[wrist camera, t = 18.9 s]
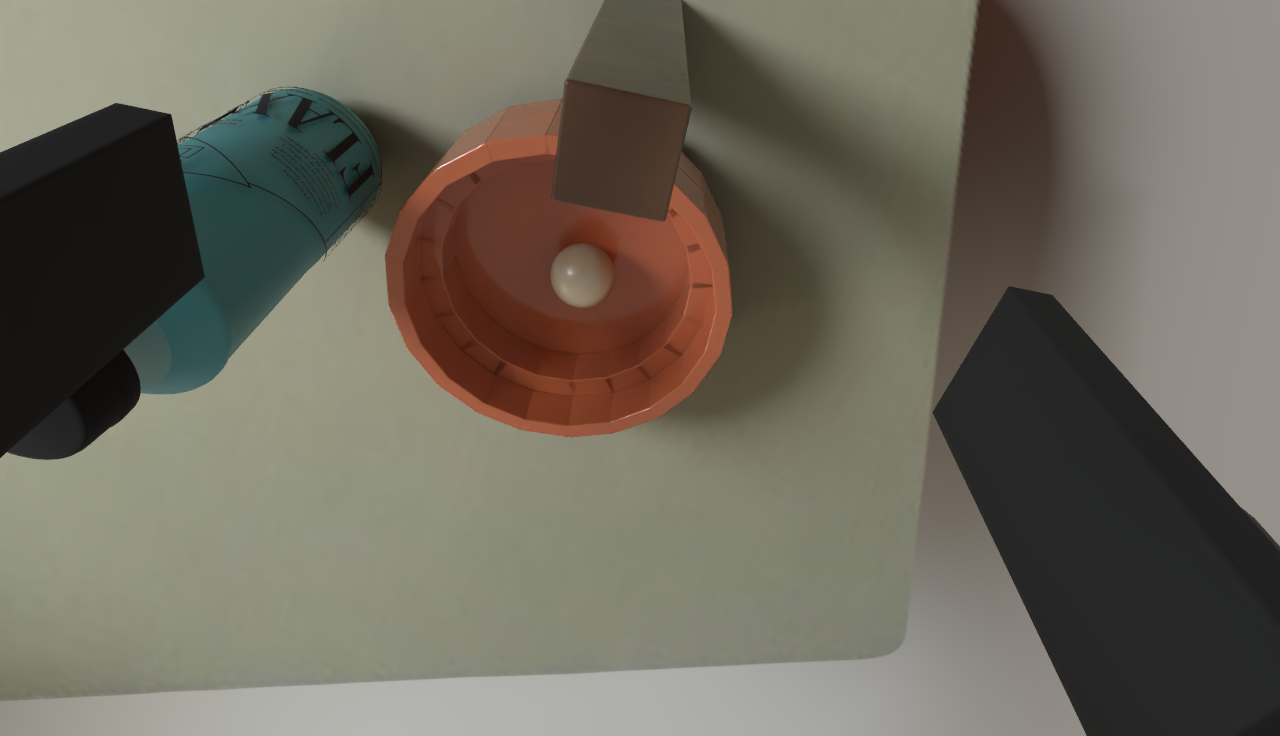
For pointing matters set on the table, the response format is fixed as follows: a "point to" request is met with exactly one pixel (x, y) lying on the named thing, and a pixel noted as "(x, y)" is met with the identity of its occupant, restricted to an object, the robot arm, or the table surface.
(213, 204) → the beverage bottle
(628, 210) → the stick
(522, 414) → the bowl
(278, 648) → the table surface
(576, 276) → the bead
